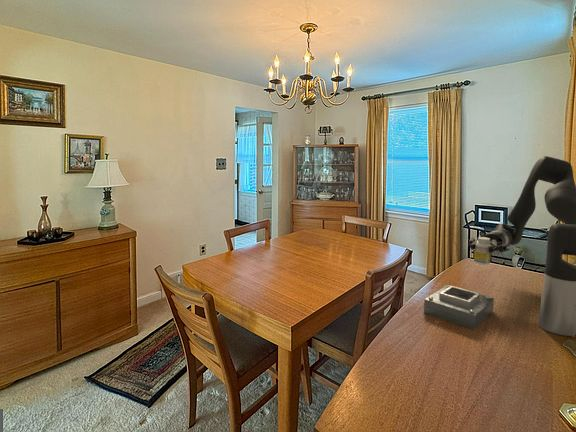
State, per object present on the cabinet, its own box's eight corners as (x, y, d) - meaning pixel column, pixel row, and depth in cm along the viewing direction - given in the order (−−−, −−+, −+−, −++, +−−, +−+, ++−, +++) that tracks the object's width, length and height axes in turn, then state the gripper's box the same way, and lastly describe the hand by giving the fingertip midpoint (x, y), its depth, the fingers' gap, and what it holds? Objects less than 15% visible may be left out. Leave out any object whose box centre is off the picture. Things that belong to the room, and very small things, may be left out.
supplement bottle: (480, 265, 119) (482, 240, 117) (470, 260, 124) (472, 236, 122) (493, 264, 119) (495, 239, 118) (483, 260, 124) (485, 236, 123)
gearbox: (492, 311, 111) (494, 292, 110) (473, 330, 99) (475, 309, 98) (445, 297, 123) (446, 280, 121) (423, 312, 111) (424, 293, 110)
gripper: (476, 229, 134) (461, 235, 123) (517, 234, 124) (504, 242, 113) (475, 246, 136) (459, 254, 125) (515, 253, 125) (502, 262, 114)
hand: (480, 248), depth 119 cm, fingers closed on supplement bottle, 5 cm apart
